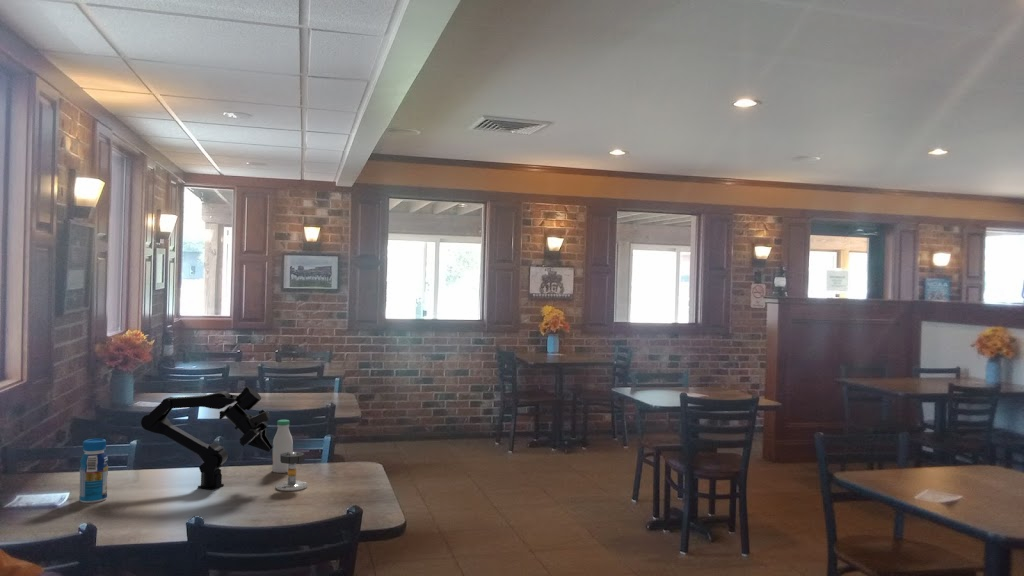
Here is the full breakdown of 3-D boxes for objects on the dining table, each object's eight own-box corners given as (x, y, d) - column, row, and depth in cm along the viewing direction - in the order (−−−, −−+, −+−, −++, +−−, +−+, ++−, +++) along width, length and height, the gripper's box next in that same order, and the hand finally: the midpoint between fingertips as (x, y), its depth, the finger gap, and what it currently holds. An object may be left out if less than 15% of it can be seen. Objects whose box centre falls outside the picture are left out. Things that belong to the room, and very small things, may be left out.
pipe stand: (269, 489, 267) (270, 454, 267) (288, 481, 277) (289, 448, 277) (294, 492, 263) (295, 457, 263) (313, 485, 274) (314, 451, 274)
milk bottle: (296, 470, 295) (297, 420, 295) (281, 474, 288) (282, 422, 288) (283, 467, 299) (284, 418, 299) (267, 471, 292) (269, 420, 292)
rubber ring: (276, 462, 268) (276, 455, 268) (290, 457, 275) (290, 451, 275) (294, 464, 265) (294, 457, 265) (308, 459, 273) (308, 453, 273)
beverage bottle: (72, 501, 246) (74, 441, 246) (94, 495, 254) (96, 436, 254) (91, 504, 244) (93, 443, 244) (113, 498, 252) (114, 439, 252)
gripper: (249, 407, 260) (281, 439, 261) (263, 399, 279) (292, 429, 279) (226, 430, 259) (257, 461, 260) (241, 420, 278) (270, 450, 279)
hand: (270, 449), depth 270 cm, fingers open, 3 cm apart
